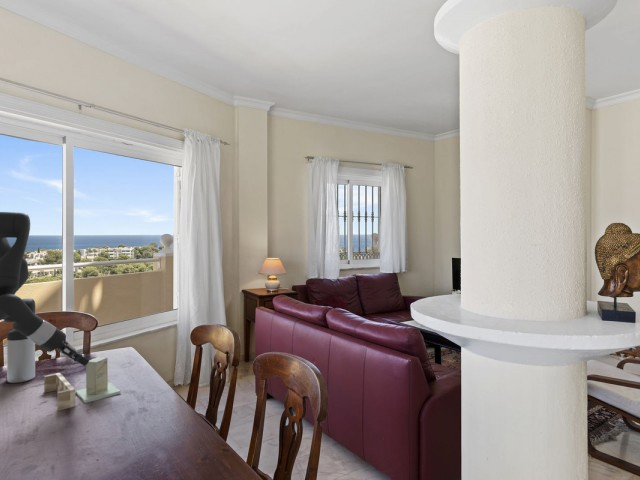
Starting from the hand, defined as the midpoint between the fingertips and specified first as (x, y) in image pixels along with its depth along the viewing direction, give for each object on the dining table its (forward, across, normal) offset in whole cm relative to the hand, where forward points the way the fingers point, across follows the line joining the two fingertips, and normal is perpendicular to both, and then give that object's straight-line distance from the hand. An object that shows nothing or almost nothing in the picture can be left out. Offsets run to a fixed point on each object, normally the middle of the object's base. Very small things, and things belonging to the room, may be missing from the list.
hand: (83, 360), depth 145 cm
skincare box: (+12, -1, +6) cm, 14 cm away
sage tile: (+13, 0, +6) cm, 14 cm away
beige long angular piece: (+5, +4, +15) cm, 16 cm away
